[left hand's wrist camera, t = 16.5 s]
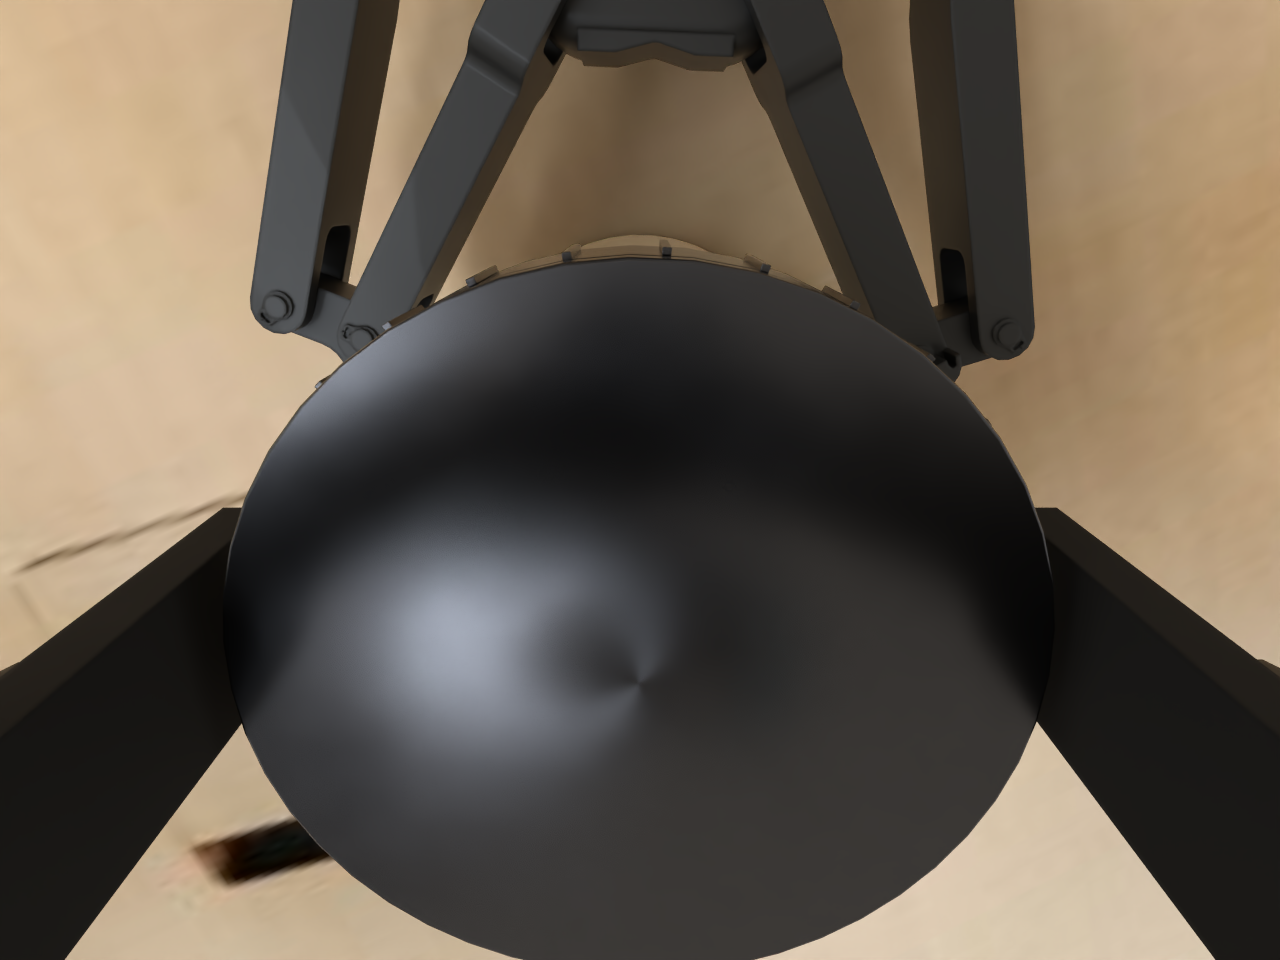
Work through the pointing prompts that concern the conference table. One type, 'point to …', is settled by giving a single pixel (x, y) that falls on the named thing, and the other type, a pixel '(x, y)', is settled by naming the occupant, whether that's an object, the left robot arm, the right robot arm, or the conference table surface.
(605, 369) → the lid
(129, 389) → the conference table surface
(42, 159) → the conference table surface
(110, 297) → the conference table surface
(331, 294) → the right robot arm
